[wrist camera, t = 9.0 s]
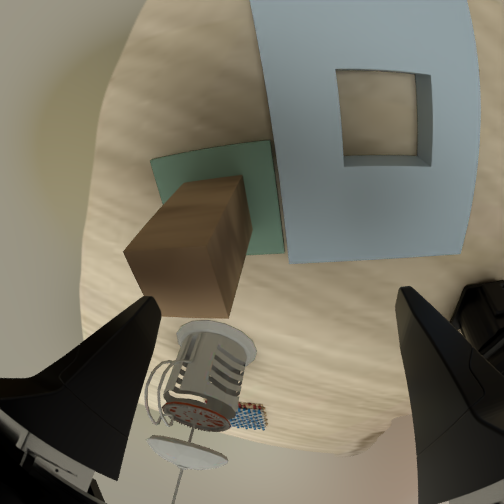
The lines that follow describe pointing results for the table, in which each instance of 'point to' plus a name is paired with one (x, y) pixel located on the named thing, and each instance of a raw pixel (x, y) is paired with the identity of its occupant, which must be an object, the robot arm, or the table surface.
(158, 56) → the table surface
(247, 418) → the woven mat
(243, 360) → the french press
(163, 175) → the green pad
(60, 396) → the robot arm
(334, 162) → the pocket board
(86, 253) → the table surface
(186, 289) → the walnut block
